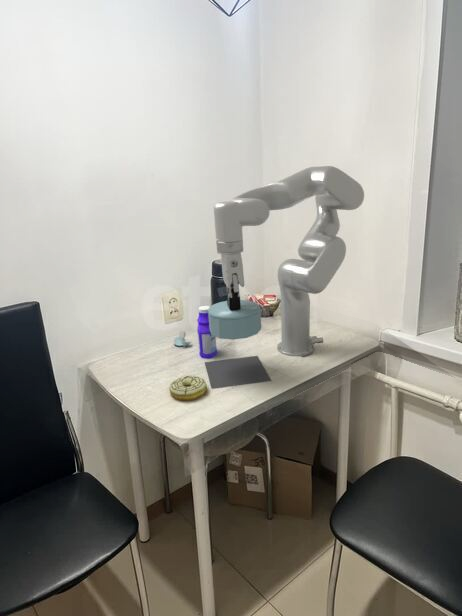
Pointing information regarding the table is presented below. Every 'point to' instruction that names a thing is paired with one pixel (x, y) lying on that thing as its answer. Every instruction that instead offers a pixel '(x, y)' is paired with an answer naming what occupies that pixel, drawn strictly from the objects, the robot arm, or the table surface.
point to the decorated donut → (188, 388)
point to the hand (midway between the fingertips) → (234, 307)
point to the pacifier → (182, 343)
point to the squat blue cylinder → (234, 320)
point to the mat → (236, 372)
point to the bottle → (205, 334)
